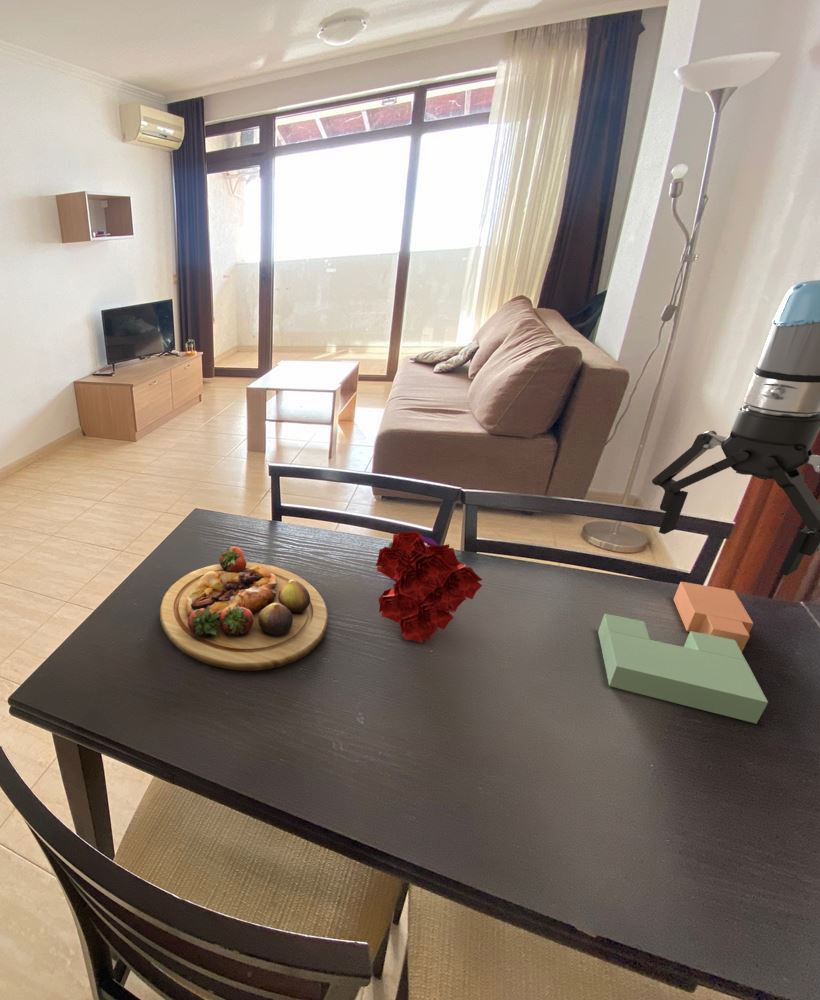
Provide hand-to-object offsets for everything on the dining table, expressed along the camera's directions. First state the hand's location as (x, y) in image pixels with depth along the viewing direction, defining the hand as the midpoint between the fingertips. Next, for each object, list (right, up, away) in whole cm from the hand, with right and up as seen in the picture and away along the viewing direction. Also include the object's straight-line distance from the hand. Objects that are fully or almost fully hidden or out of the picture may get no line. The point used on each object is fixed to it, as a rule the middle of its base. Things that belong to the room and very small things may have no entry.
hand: (722, 550), depth 79 cm
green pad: (-3, -20, +5) cm, 20 cm away
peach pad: (+12, -14, +13) cm, 23 cm away
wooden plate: (-66, -15, +26) cm, 73 cm away
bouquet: (-33, -11, +28) cm, 45 cm away
